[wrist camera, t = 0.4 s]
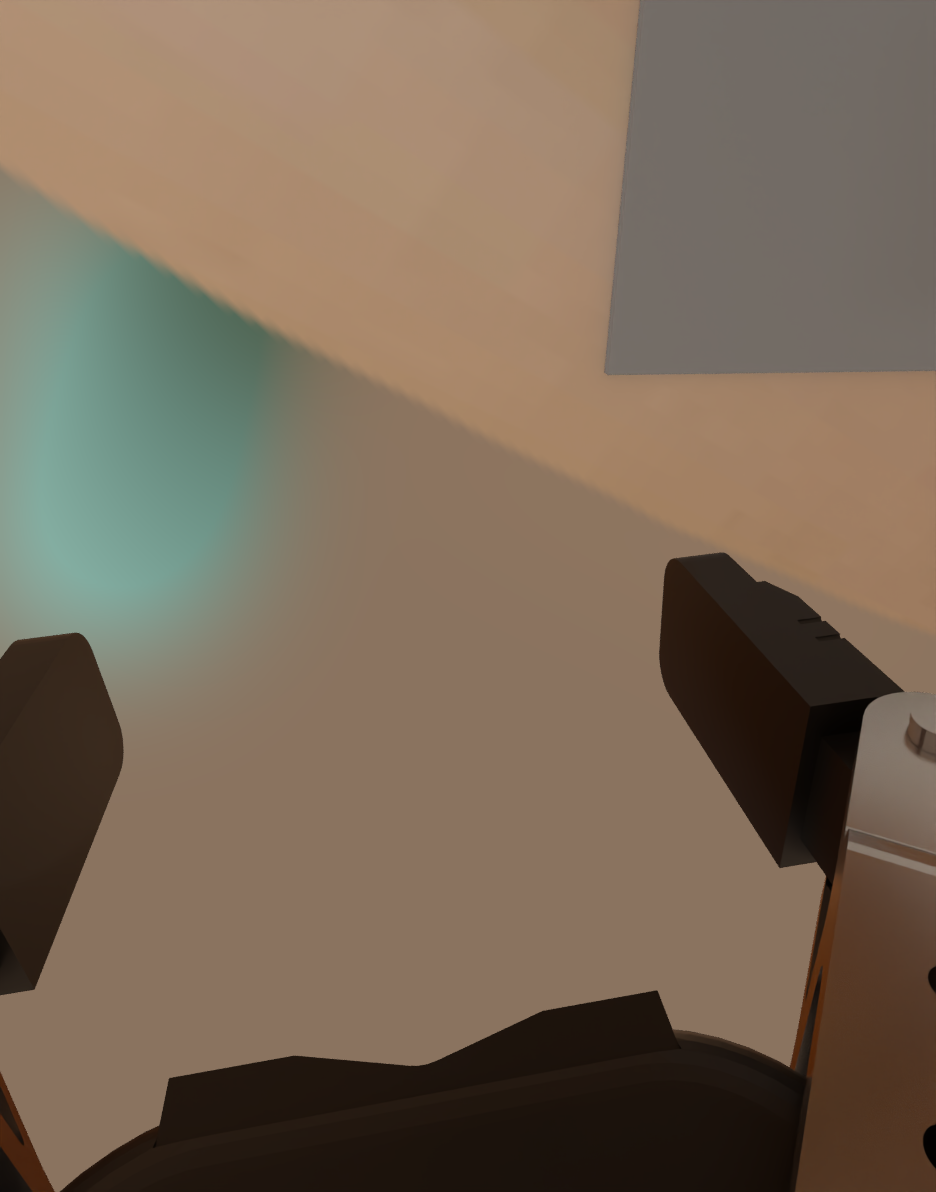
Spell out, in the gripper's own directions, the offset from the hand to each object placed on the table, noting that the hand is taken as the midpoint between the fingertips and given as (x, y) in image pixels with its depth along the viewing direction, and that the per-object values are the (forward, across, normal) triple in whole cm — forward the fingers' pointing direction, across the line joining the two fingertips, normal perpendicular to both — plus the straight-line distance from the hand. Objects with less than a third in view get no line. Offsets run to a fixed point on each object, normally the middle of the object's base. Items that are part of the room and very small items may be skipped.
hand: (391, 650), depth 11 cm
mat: (+28, -23, -5) cm, 37 cm away
